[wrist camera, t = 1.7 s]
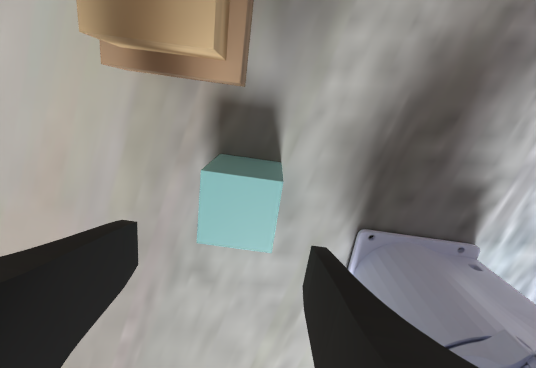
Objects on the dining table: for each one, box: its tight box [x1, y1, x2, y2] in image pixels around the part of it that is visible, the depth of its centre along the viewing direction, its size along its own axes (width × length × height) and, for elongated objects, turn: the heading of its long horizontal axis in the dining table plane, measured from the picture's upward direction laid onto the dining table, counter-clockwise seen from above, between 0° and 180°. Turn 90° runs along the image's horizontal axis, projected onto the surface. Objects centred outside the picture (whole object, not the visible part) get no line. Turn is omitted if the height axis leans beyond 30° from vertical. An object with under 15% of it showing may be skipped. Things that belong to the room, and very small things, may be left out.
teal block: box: [197, 154, 283, 253], centre depth 17 cm, size 4×4×5 cm
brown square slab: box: [100, 0, 254, 87], centre depth 14 cm, size 8×8×3 cm
